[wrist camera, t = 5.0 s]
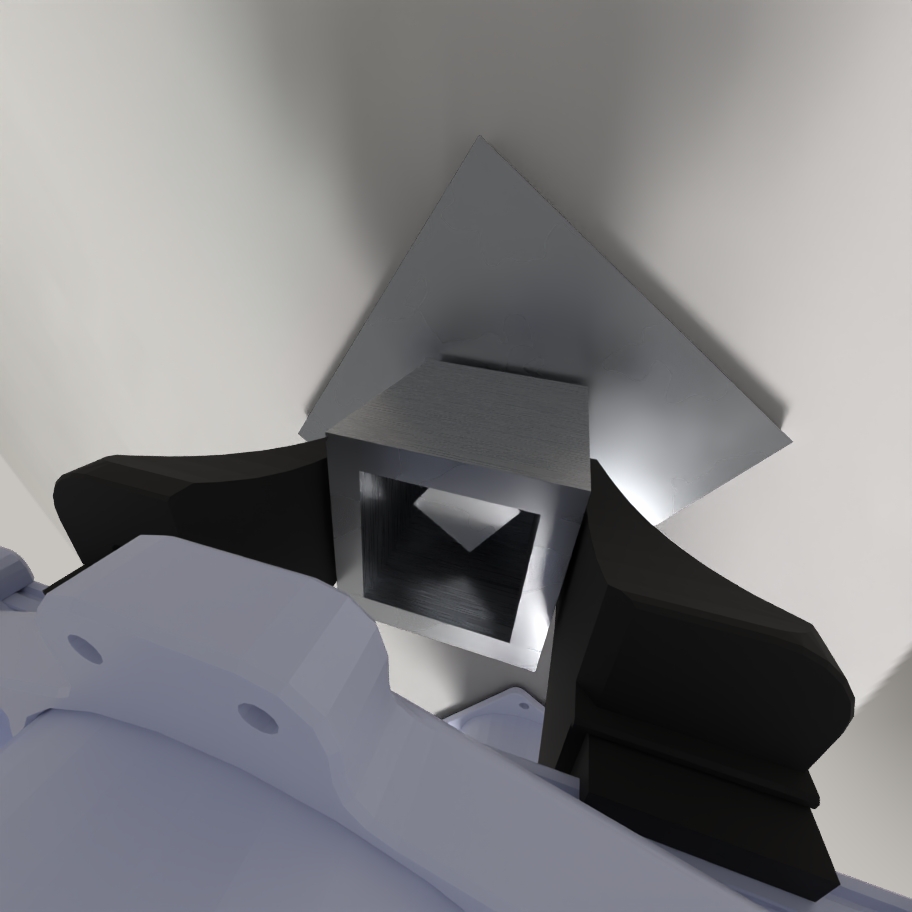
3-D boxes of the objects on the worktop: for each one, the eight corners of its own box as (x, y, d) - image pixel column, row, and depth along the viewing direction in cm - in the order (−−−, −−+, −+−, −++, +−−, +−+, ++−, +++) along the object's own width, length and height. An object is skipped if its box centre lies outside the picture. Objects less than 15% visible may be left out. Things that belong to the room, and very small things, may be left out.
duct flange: (781, 431, 12) (900, 540, 7) (513, 599, 18) (488, 715, 14) (486, 142, 11) (413, 61, 6) (309, 426, 17) (208, 488, 12)
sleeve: (587, 386, 12) (591, 491, 7) (552, 519, 14) (534, 672, 9) (429, 359, 13) (325, 432, 8) (421, 487, 15) (338, 608, 10)
